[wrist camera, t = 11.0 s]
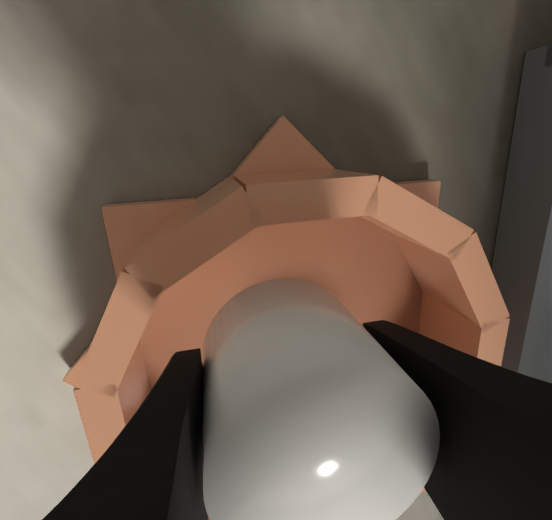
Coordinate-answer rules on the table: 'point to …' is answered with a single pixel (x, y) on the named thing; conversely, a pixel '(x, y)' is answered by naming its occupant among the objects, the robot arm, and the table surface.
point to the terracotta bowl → (279, 267)
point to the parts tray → (528, 225)
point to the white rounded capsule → (308, 412)
